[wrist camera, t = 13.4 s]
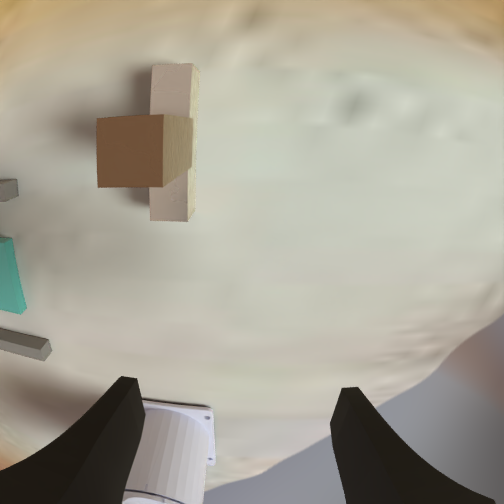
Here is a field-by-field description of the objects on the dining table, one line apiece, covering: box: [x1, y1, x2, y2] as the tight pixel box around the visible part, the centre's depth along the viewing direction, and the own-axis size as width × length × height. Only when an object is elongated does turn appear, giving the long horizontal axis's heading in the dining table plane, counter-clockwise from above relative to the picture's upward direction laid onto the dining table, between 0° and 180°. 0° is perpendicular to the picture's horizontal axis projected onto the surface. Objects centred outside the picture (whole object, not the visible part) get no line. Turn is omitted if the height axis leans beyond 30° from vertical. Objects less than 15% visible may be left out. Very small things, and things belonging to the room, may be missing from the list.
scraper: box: [97, 63, 200, 222], centre depth 13 cm, size 8×2×8 cm, turn 177°
